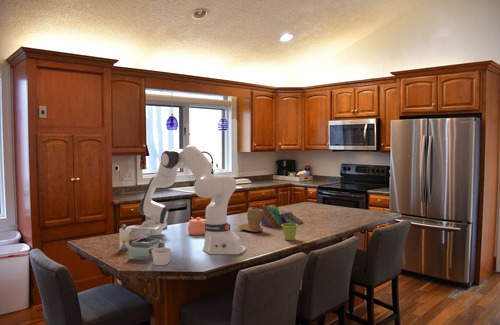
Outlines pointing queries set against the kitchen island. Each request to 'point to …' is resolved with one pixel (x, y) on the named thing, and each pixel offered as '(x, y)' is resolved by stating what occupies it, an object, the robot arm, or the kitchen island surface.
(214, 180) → the robot arm
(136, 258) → the green tray box
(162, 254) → the candle
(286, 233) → the plant pot
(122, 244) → the frosted glass bottle
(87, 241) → the kitchen island surface
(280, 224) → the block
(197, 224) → the teapot
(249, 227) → the brown hat
